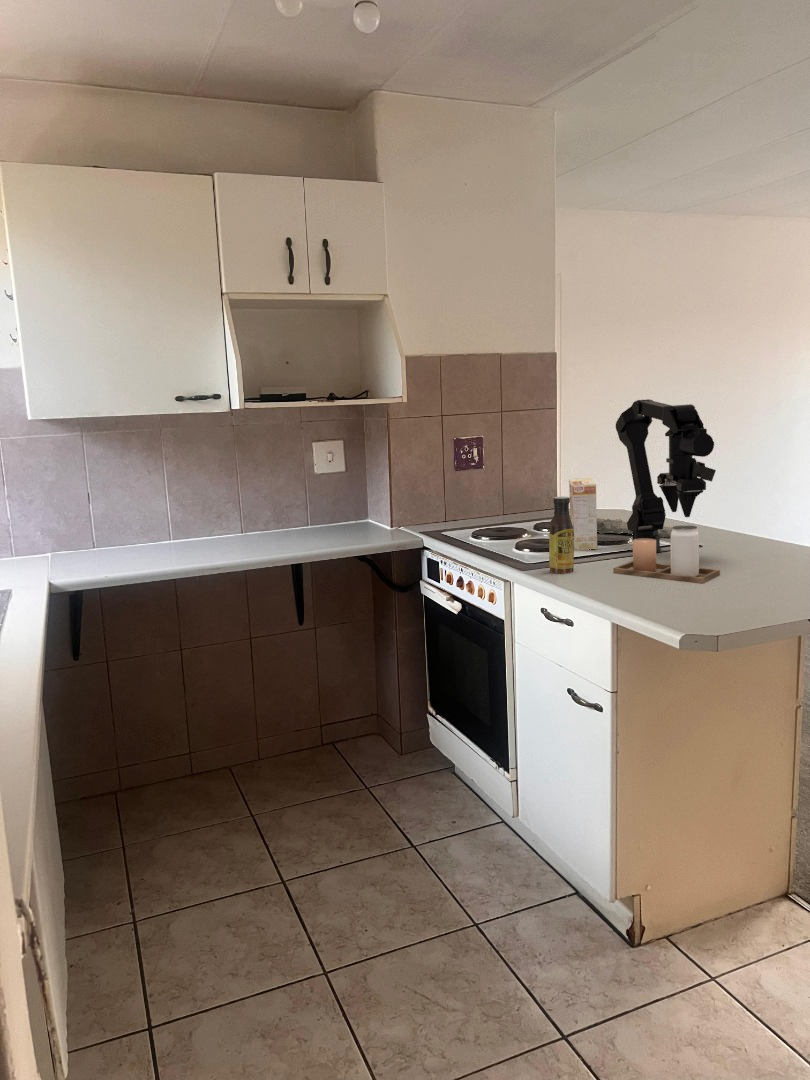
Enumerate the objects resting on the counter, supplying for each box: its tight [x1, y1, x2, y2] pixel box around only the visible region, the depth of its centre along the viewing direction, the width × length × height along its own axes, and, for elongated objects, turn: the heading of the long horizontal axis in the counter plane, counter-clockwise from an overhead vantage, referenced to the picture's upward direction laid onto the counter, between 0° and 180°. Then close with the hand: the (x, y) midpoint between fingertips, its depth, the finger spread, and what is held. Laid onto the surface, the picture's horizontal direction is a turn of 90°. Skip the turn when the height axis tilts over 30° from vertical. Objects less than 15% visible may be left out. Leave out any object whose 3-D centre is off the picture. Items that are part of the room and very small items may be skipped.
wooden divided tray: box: [612, 560, 721, 585], centre depth 200 cm, size 23×10×2 cm, turn 47°
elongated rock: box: [597, 517, 673, 539], centre depth 258 cm, size 35×5×10 cm
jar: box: [632, 538, 657, 572], centre depth 203 cm, size 6×6×8 cm
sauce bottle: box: [548, 496, 575, 575], centre depth 208 cm, size 7×6×20 cm
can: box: [670, 524, 700, 577], centre depth 196 cm, size 6×6×12 cm
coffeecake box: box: [568, 477, 598, 551], centre depth 242 cm, size 15×7×20 cm, turn 172°
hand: (680, 514), depth 210 cm, fingers open, 9 cm apart
